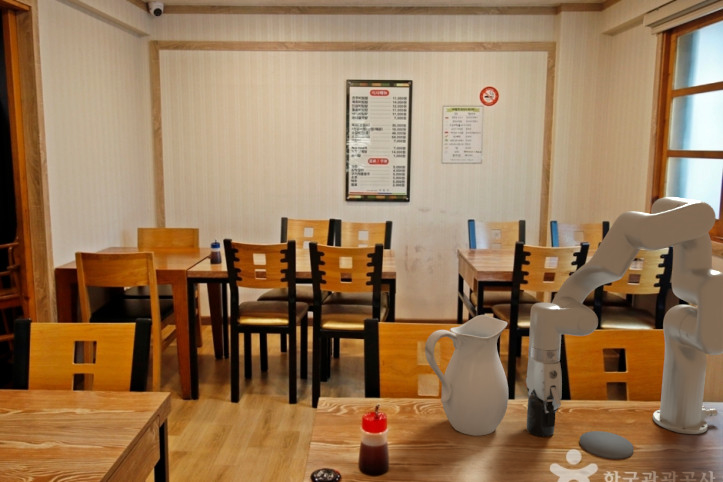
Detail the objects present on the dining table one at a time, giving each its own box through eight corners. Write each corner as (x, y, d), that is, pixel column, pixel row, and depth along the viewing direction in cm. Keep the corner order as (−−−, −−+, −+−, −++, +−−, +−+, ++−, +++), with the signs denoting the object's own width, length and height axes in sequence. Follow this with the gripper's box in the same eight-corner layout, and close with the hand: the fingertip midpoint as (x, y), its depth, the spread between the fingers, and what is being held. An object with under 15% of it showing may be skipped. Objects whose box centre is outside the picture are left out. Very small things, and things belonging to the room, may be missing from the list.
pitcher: (479, 407, 163) (482, 310, 158) (521, 432, 148) (525, 327, 143) (406, 424, 152) (407, 321, 148) (442, 454, 137) (445, 341, 133)
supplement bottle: (555, 438, 145) (558, 393, 143) (527, 436, 146) (529, 390, 144) (552, 426, 151) (555, 382, 149) (525, 423, 153) (527, 380, 151)
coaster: (613, 432, 148) (613, 429, 148) (644, 456, 136) (644, 452, 136) (570, 436, 146) (570, 433, 146) (598, 461, 134) (598, 458, 134)
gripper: (577, 363, 138) (572, 434, 140) (541, 340, 155) (537, 404, 157) (547, 366, 136) (544, 437, 139) (514, 342, 153) (512, 406, 156)
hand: (540, 419), depth 148 cm, fingers closed on supplement bottle, 6 cm apart
